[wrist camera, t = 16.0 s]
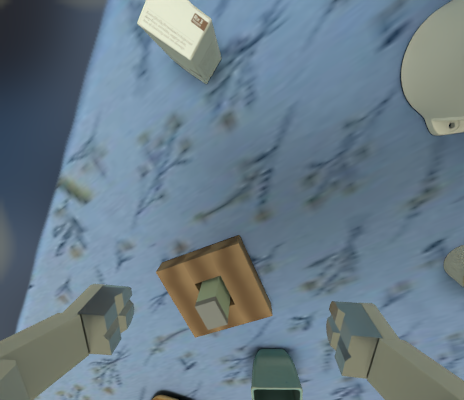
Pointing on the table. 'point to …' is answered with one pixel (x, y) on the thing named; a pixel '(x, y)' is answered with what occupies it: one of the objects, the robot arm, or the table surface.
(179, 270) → the walnut slot block
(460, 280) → the coffee cup
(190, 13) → the skincare box
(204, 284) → the keyed peg
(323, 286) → the table surface
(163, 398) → the stone cup
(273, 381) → the flower pot
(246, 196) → the table surface
